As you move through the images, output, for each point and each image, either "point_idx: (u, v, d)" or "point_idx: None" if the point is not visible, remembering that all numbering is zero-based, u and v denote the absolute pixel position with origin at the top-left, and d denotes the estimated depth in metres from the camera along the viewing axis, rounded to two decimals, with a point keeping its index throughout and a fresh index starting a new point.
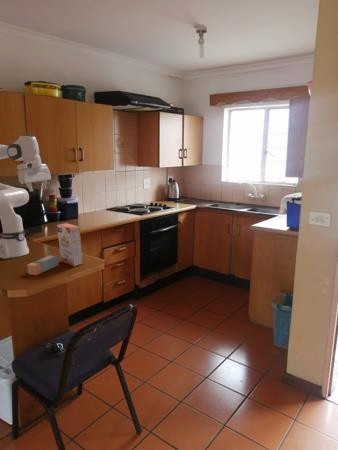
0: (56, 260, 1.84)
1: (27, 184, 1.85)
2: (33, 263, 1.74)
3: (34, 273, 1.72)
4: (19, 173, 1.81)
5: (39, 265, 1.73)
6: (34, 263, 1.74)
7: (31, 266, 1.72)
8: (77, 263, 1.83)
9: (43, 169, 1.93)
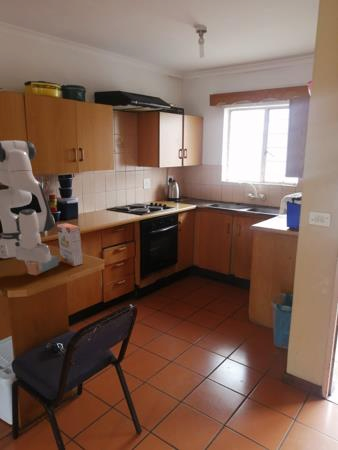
0: (56, 260, 1.84)
1: None
2: (33, 263, 1.74)
3: (34, 273, 1.72)
4: None
5: None
6: (34, 263, 1.74)
7: (31, 266, 1.72)
8: (77, 263, 1.83)
9: (37, 250, 1.68)
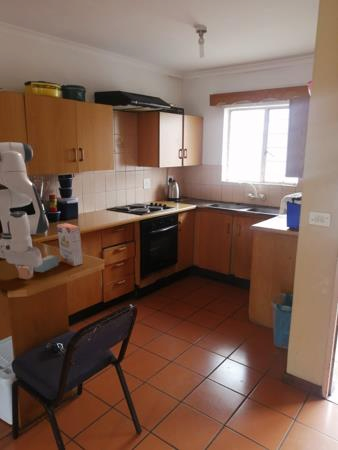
0: (56, 260, 1.84)
1: None
2: (24, 267, 1.69)
3: (25, 277, 1.67)
4: None
5: None
6: (25, 267, 1.69)
7: (22, 270, 1.66)
8: (77, 263, 1.83)
9: (28, 253, 1.63)
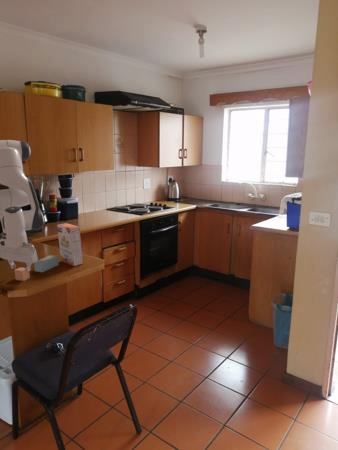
0: (56, 260, 1.84)
1: None
2: (20, 268, 1.67)
3: (21, 279, 1.65)
4: None
5: None
6: (22, 268, 1.67)
7: (18, 271, 1.64)
8: (77, 263, 1.83)
9: (22, 250, 1.61)
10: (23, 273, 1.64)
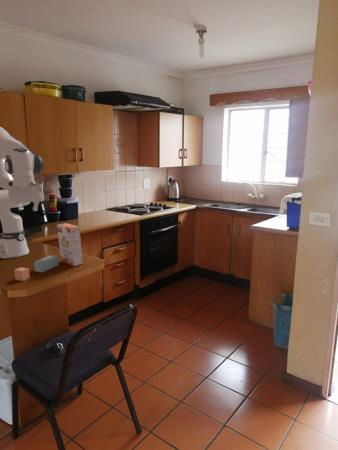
0: (56, 260, 1.84)
1: None
2: (20, 268, 1.67)
3: (21, 279, 1.65)
4: None
5: (27, 270, 1.66)
6: (22, 268, 1.67)
7: (18, 271, 1.64)
8: (77, 263, 1.83)
9: (30, 189, 1.67)
10: (23, 273, 1.64)
